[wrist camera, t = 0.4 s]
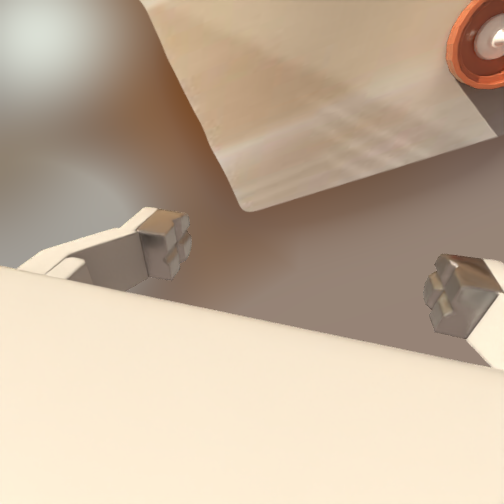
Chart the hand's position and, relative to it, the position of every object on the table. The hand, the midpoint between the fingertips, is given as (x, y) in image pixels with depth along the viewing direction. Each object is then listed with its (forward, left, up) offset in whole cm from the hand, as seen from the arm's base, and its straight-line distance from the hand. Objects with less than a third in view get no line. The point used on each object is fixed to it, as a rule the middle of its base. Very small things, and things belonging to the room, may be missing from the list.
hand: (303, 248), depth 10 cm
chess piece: (-6, +20, -46) cm, 50 cm away
